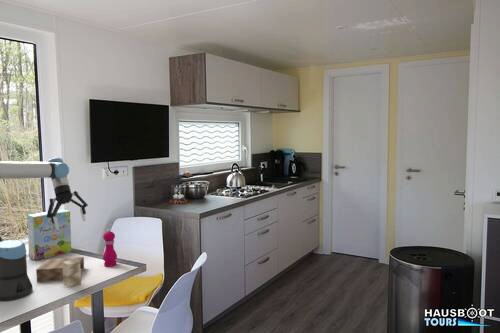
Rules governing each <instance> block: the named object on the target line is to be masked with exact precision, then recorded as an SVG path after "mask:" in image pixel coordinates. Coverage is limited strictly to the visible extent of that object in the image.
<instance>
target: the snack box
mask: <svg viewBox="0 0 500 333" xmlns="http://www.w3.org/2000/svg"><path fill="white" fill-rule="evenodd" d="M52 212H53V210H52ZM47 213H48V211H43V212H37V213H32V214H27V238H28V258H29V259H31V260H33V261H39V260H43V259H48V258H52V257H56V256H60V255H64V254H68V253H71V252H72V231H71V226H72V225H71V211H70V210H67V209H59V210H58V212H57V214H56V216H55V217H57V222H58V226H59V230H57V229H56V228H55V224H53V223H52V220H51V218H48V217H47Z"/></svg>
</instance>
